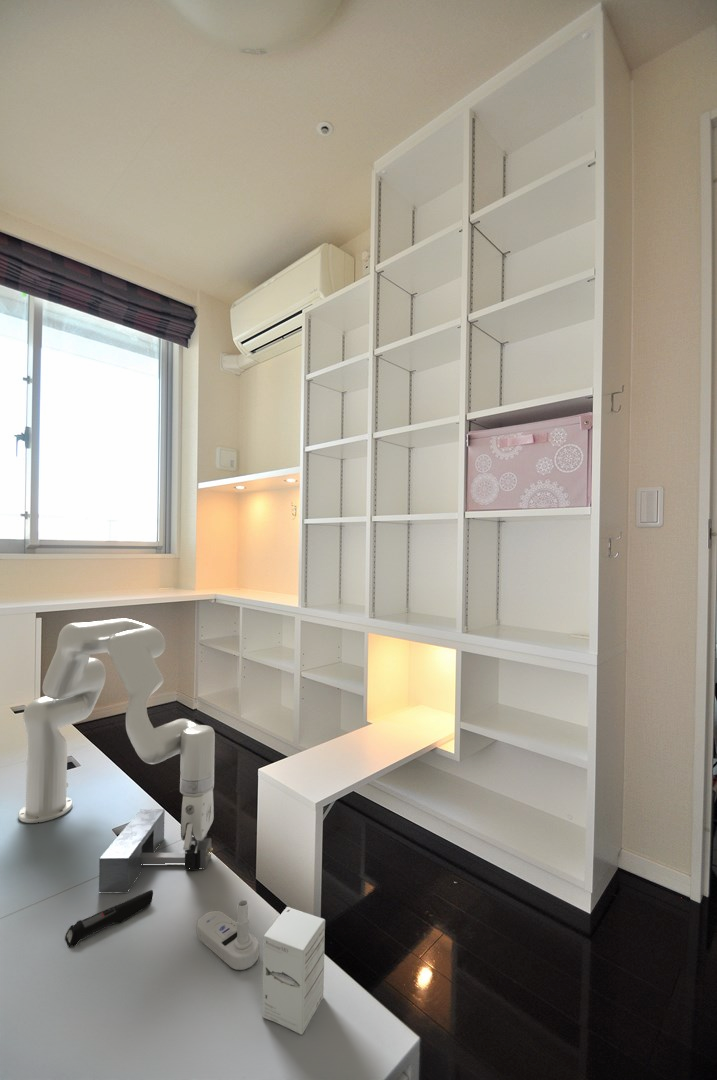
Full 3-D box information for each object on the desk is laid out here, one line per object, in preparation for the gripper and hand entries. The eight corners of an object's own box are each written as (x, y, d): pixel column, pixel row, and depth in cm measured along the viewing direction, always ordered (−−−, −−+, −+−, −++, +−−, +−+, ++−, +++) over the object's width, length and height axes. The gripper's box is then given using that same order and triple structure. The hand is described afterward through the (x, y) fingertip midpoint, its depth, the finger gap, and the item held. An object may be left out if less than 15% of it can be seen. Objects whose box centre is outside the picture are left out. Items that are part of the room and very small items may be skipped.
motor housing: (98, 893, 104) (99, 858, 104) (140, 838, 124) (140, 809, 124) (127, 893, 104) (128, 858, 104) (164, 838, 124) (164, 809, 124)
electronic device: (215, 869, 97) (264, 901, 88) (216, 920, 97) (265, 958, 87) (191, 882, 93) (239, 918, 84) (191, 936, 93) (240, 978, 83)
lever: (108, 868, 112) (109, 849, 112) (118, 857, 116) (118, 837, 116) (208, 869, 112) (208, 849, 112) (213, 857, 116) (214, 838, 116)
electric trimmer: (155, 910, 100) (156, 894, 100) (69, 951, 89) (70, 933, 89) (148, 900, 102) (149, 885, 103) (64, 939, 92) (64, 921, 92)
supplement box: (260, 1019, 76) (261, 934, 76) (286, 981, 83) (287, 903, 83) (302, 1038, 73) (303, 950, 73) (325, 997, 80) (326, 917, 80)
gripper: (202, 800, 106) (200, 886, 106) (223, 766, 123) (221, 841, 122) (167, 799, 106) (165, 886, 105) (192, 766, 123) (191, 841, 122)
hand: (195, 861), depth 114 cm, fingers closed on lever, 4 cm apart
